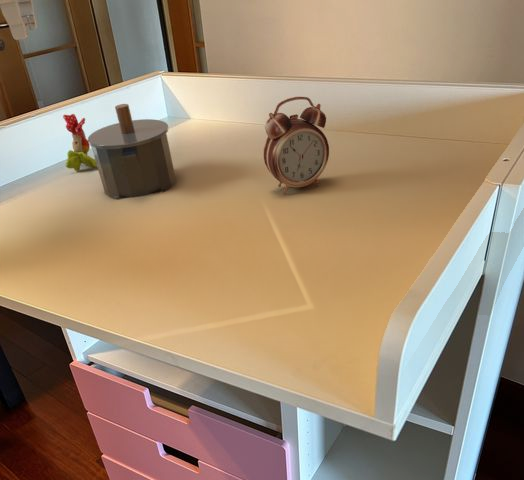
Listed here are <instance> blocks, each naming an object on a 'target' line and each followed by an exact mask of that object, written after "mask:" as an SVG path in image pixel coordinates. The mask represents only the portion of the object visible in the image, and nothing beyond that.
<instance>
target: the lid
mask: <svg viewBox="0 0 524 480" xmlns="http://www.w3.org/2000/svg"><path fill="white" fill-rule="evenodd" d="M114 110H115V113H116V117H117V121H118V122H117V123H113V124H109V125H106V126H103V127H101V128H99V129H97V130H95V131H94V132H92V133H91V134H90V135H89V136H88V137H87V140H88V142H89V145H90V147H91V146H92V147H95V148H100V149H120V148H128V147H133V146H138V145H142V144H145V143H148V142H151V141H154V140H156V139H158V138H160V137H162V136H164V135H165V134H167V133H168V132H169V125H168V123H167V122H165V121H164V120H160V119H152V118H151V119H149V118H145V119H144V118H142V119H133V117H132V114H131V109H130V105H129V104H128V103H121V104H117V105H115V107H114ZM92 147H91V148H92Z"/></svg>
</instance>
